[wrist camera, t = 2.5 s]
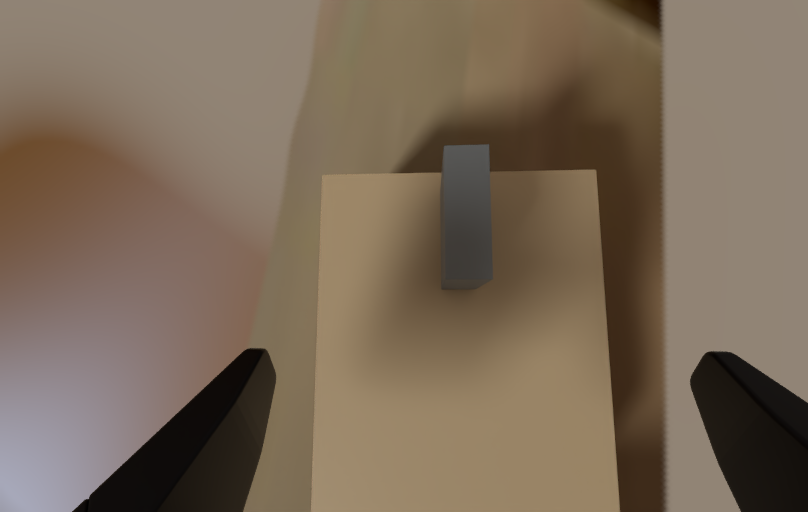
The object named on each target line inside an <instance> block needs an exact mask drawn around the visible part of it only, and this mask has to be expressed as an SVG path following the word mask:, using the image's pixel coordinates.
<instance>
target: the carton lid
mask: <svg viewBox="0 0 808 512" xmlns="http://www.w3.org/2000/svg"><path fill="white" fill-rule="evenodd" d="M311 512H620V505H619V491H618V476H617V462H616V448H615V433H614V419H613V404H612V390H611V376H610V361H609V347H608V333H607V318H606V304H605V290H604V275H603V261H602V246H601V232H600V218H599V203H598V189H597V175H596V170H546V171H495V172H490V159H489V144H487V145H445V146H444V150H443V162H442V173H393V174H342V175H322V198H321V228H320V258H319V288H318V318H317V348H316V378H315V408H314V437H313V467H312V497H311Z"/></svg>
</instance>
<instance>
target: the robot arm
mask: <svg viewBox="0 0 808 512" xmlns="http://www.w3.org/2000/svg"><path fill="white" fill-rule="evenodd" d="M275 384H276V373H275V369H274V367H273V364H272V361H271V359H270V356H269V353H268V351H267V350H266V349H263V348H249V349H246V350H245V351H243V352H242V353H241V354H240V355H239V356H238V357H237V358H236V359H235V360H234V361H232V362H231V364H229V365H228V366H227V367H226V368H225V369H224V370H223V371H222V372H221V373H220V374H219V375H218V376H217V377H215V378H214V379H213V380H212V381H211V382H210V383H209V384H208V385H207V386H206V387H205V388H204V389H203V390H202V391H201V392H200V393H199V394H197V395H196V396H195V397H194V398H193V399H192V400H191V401H190V402H189V403H188V404H187V405H186V406H185V407H183V408H182V409H181V410H180V411H179V412H178V413H177V414H176V415H175V416H174V417H173V418H172V419H171V420H170V421H169V422H167V424H165V425H164V426H163V427H162V428H161V429H160V430H159V431H158V432H157V433H156V434H155V435H154V436H153V437H151V439H149V441H148V442H146V443H145V444H144V445H143V446H142V447H141V448H140V449H139V450H138V451H137V452H136V453H134V454H133V455H132V456H131V457H130V458H129V459H128V460H127V461H126V462H125V463H124V464H123V465H122V466H121V467H120V468H118V469H117V470H116V471H115V472H114V473H113V474H112V475H111V476H110V477H109V478H108V479H107V480H106V481H105V482H104V483H102V484H101V485H100V486H99V487H98V488H97V489H96V490H95V491H94V492H93V493H92V494H91V495H90V497H89V499H86V500H84V501H83V502H82V503H81V504H80V505H79V506H78V507H77V508H76V509H75V510H74V511H72V512H243V510H244V506H245V503H246V500H247V497H248V494H249V491H250V488H251V484H252V481H253V478H254V475H255V472H256V469H257V465H258V462H259V459H260V455H261V452H262V447H263V443H264V438H265V433H266V428H267V423H268V418H269V413H270V408H271V403H272V398H273V394H274V389H275ZM690 385H691V389H692V392H693V395H694V398H695V400H696V404H697V406H698V409H699V412H700V414H701V418H702V420H703V423H704V426H705V429H706V432H707V434H708V437H709V440H710V443H711V445H712V448H713V451H714V453H715V456H716V459H717V461H718V464H719V466H720V468H721V470H722V472H723V475H724V477H725V479H726V481H727V483H728V485H729V487H730V489H731V491H732V494H733V496H734V498H735V500H736V502H737V504H738V506H739V508H740V510H741V512H808V403H807V402H805V401H804V400H803V399H801V398H800V397H798V396H796V395H795V394H794V393H792V392H791V391H789V390H788V389H786V388H785V387H783V386H781V385H780V384H779V383H777V382H775V381H774V380H773V379H771V378H769V377H768V376H767V375H765V374H764V373H762V372H761V371H759V370H758V369H756V368H755V367H753V366H751V365H750V364H749V363H747V362H746V361H744V360H742V359H741V358H740V357H738V356H737V355H735V354H733V353H731V352H714V351H713V352H712V351H711V352H707V353H705V355H704V356H703V357H702V359H701V360H700V362H699V364H698V366H697V367H696V369H695V370H694V372H693V374H692V376H691V379H690Z"/></svg>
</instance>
